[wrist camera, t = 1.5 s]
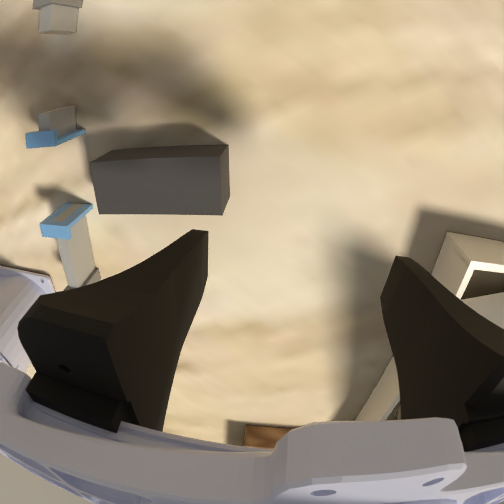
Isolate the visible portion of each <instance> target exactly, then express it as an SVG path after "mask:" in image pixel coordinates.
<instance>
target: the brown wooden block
mask: <svg viewBox="0 0 504 504" xmlns="http://www.w3.org/2000/svg"><path fill="white" fill-rule="evenodd" d="M290 430H292V428H275V427H263V426H252V425H246V428H245V436H244V443H243V446H244V447H252V448H261V449H272V450H274V448H275V446H276V443H277V441H279V440H280V439H281V438H282V437H283V436H284V435H285V434H287V433H288V432H289V431H290Z"/></svg>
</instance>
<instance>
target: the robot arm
mask: <svg viewBox="0 0 504 504" xmlns="http://www.w3.org/2000/svg"><path fill="white" fill-rule="evenodd" d="M207 277H208V231H202V230H194V229H192V230H191V231H189V232H187V233H186V234H185V235H183V236H182V237H180V238H179V239H177V240H176V241H174V242H173V243H172V244H170V245H169V246H167V247H166V248H164V249H163V250H161V251H160V252H158V253H156V254H155V255H153V256H151V257H150V258H148V259H146V260H145V261H143V262H141V263H139V264H137V265H136V266H134V267H132V268H130V269H127V270H125V271H123V272H121V273H119V274H116V275H114V276H111V277H108V278H106V279H103V280H101V281H98V282H95V283H92V284H89V285H85V286H82V287H78V288H74V289H70V290H66V291H61V292H55V290H54V287H53V284H52V281H51V278H50V277H49V276H47V275H43V274H38V273H33V272H28V271H24V270H19V269H14V268H9V267H5V266H0V453H2V454H3V455H4V456H5V457H7V458H8V459H10V460H12V461H13V462H15V463H17V464H18V465H20V466H22V467H23V468H25V469H27V470H29V471H30V472H32V473H34V474H35V475H37V476H39V477H41V478H43V479H45V480H46V481H48V482H50V483H52V484H54V485H56V486H58V487H60V488H62V489H64V490H66V491H68V492H70V493H72V494H74V495H76V496H78V497H81V498H83V499H85V500H87V501H89V502H92V503H94V504H497V503H500V502H502V501H504V329H503V328H501V327H499V326H498V325H496V324H494V323H493V322H491V321H489V320H488V319H486V318H485V317H483V316H482V315H480V314H479V313H477V312H476V311H475V310H473V309H472V308H470V307H469V306H468V305H466V304H465V303H464V302H462V301H461V300H460V299H459V298H458V297H456V296H455V295H454V294H453V293H451V292H450V291H449V290H448V289H447V288H446V287H445V286H443V285H442V284H441V283H440V282H439V281H438V280H437V279H435V278H434V277H433V276H432V275H431V274H430V273H429V272H427V271H426V270H425V269H424V268H423V267H421V266H420V265H419V264H418V263H416V262H415V261H414V260H412V259H411V258H408V257H401V256H396V257H395V260H394V262H393V265H392V268H391V271H390V273H389V276H388V279H387V281H386V284H385V287H384V289H383V292H382V294H381V297H380V298H381V306H382V313H383V319H384V323H385V327H386V330H387V334H388V338H389V341H390V345H391V349H392V352H393V356H394V360H395V364H396V369H397V374H398V383H399V392H400V408H401V420H384V421H328V422H315V423H310V424H307V425H304V426H301V427H298V428H294V429H292V430H290V431H289V432H288V433H287V434H285V435H284V436H283V437H282V438H281V439H280V440H279V441H277V443H276V446H275V448H274V450H272V449H261V448H252V447H244V446H236V445H229V444H222V443H216V442H210V441H204V440H199V439H193V438H188V437H183V436H179V435H174V434H170V433H165V432H162V431H163V425H164V420H165V415H166V410H167V405H168V400H169V396H170V391H171V387H172V383H173V379H174V375H175V371H176V367H177V363H178V360H179V356H180V352H181V349H182V346H183V343H184V341H185V338H186V336H187V333H188V331H189V328H190V326H191V324H192V321H193V319H194V316H195V314H196V311H197V309H198V307H199V304H200V302H201V299H202V296H203V292H204V289H205V285H206V281H207ZM31 363H32V364H33V366H34V368H35V370H36V371H37V372H36V373H35V375H34V377H33V378H32V379H31V378H30V377H29V376H28V375H27V374H25V373H26V371H27V370H28V368H29V367H30V365H31Z"/></svg>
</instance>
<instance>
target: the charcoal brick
mask: <svg viewBox="0 0 504 504" xmlns="http://www.w3.org/2000/svg"><path fill="white" fill-rule="evenodd" d="M90 168H91V174H92V180H93V186H94V191H95V196H96V202H97V207H98V212H99V214H178V215H223V212H224V210H225V207H226V205H227V202H228V200H229V197H230V186H229V147H228V145H193V146H167V147H149V148H135V149H122V150H112V151H110V152H108V153H106V154H104V155H103V156H101V157H99V158H97V159H96V160H94V161H92V162H90Z"/></svg>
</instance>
